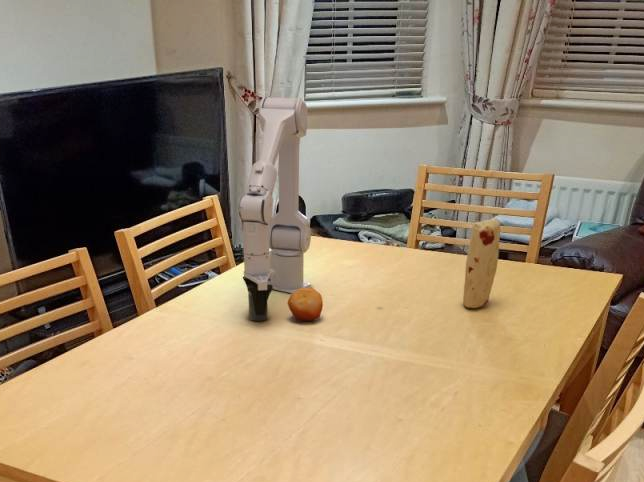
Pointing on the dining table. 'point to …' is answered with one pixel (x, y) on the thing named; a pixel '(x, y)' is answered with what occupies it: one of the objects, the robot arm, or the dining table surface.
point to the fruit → (305, 304)
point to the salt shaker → (252, 312)
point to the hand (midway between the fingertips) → (258, 310)
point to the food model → (481, 262)
